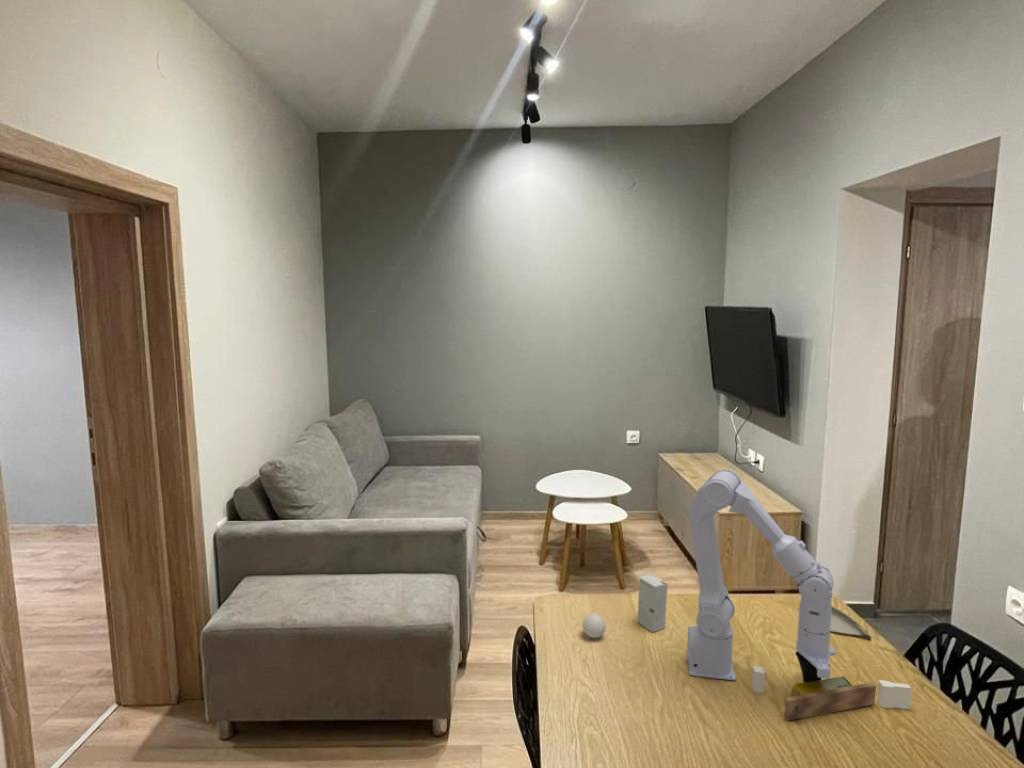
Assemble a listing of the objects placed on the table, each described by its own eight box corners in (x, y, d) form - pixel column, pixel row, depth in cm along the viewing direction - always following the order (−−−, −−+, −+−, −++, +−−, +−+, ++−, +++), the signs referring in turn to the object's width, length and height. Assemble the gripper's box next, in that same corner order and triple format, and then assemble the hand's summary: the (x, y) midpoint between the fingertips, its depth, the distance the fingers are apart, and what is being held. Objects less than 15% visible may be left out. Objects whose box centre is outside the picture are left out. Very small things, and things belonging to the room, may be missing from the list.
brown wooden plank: (790, 723, 110) (791, 703, 110) (784, 716, 112) (785, 697, 111) (878, 706, 114) (879, 687, 114) (870, 701, 116) (871, 682, 116)
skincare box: (636, 622, 148) (637, 576, 147) (650, 617, 150) (651, 573, 149) (653, 633, 142) (654, 586, 141) (666, 628, 145) (668, 582, 143)
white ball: (604, 630, 144) (605, 609, 143) (606, 643, 138) (606, 621, 138) (574, 629, 145) (574, 607, 144) (574, 641, 139) (574, 619, 139)
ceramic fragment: (872, 641, 139) (873, 621, 138) (854, 648, 136) (854, 628, 136) (805, 609, 155) (806, 591, 155) (788, 614, 152) (788, 596, 152)
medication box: (838, 689, 119) (844, 675, 117) (847, 700, 116) (854, 687, 115) (787, 697, 116) (793, 683, 114) (796, 709, 114) (802, 695, 112)
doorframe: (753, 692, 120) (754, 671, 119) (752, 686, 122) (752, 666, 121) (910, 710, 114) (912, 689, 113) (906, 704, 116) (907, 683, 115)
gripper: (848, 649, 109) (844, 716, 110) (824, 611, 123) (820, 671, 124) (808, 645, 110) (804, 711, 111) (788, 608, 124) (785, 667, 126)
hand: (810, 690), depth 118 cm, fingers closed, pressing on medication box
